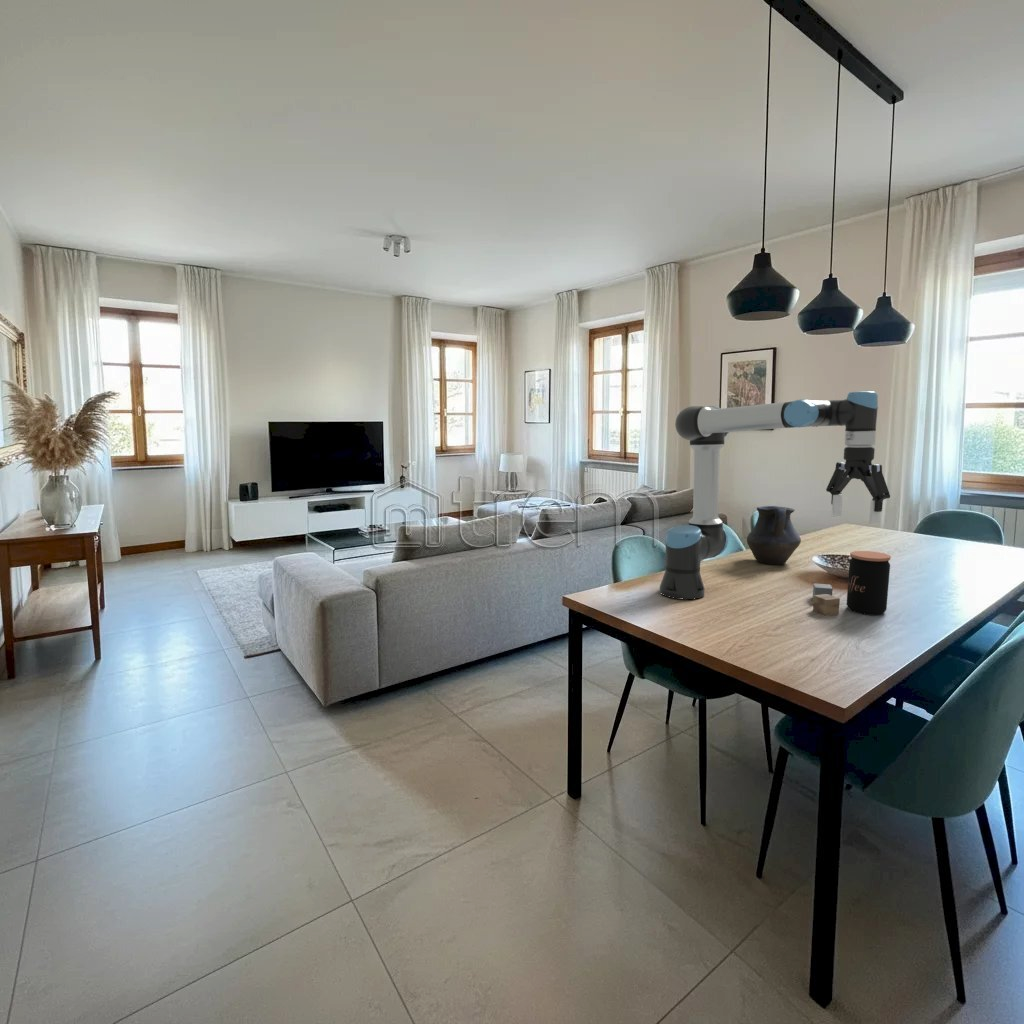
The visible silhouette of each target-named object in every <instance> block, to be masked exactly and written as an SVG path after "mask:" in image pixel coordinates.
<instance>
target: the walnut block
mask: <svg viewBox="0 0 1024 1024" xmlns="http://www.w3.org/2000/svg"><path fill="white" fill-rule="evenodd" d="M840 601H841V599H840V597H837V596H834V595H833V594H832V595H829V594H822V595H814V599H813V604H812V605H813V607H812V611H814V612H816V613H818V614H821V615H823V616H831V615H839V614H840Z"/></svg>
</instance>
